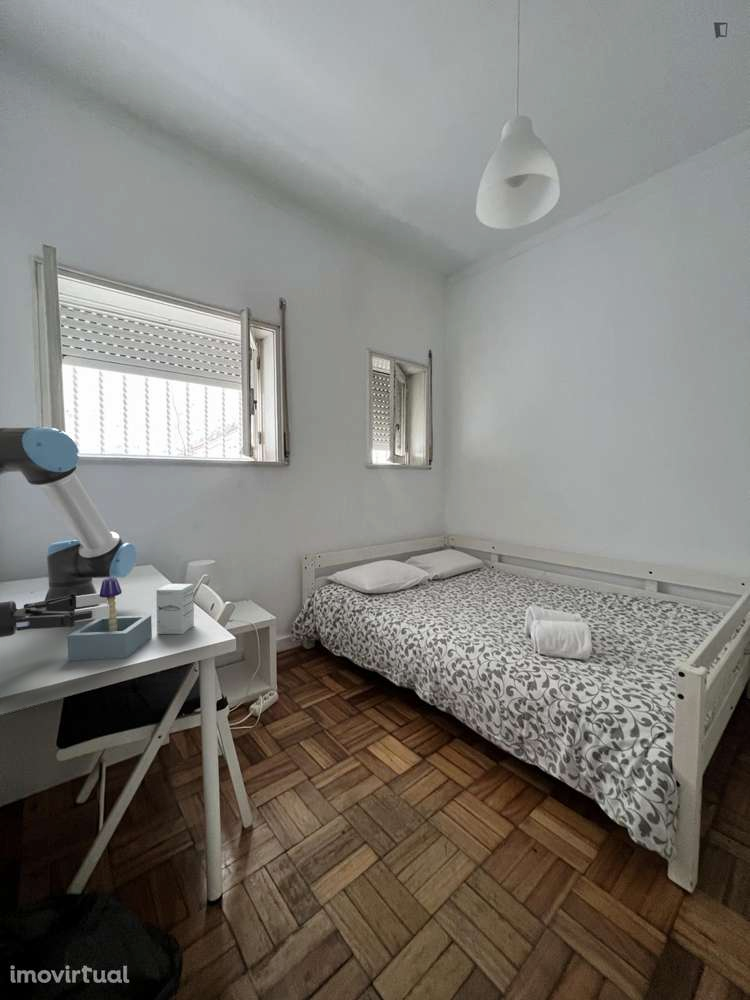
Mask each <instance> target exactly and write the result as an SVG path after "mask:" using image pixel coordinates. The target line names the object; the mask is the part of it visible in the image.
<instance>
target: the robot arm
mask: <svg viewBox="0 0 750 1000" xmlns="http://www.w3.org/2000/svg"><path fill="white" fill-rule="evenodd" d="M78 454H79V447H78V446H77V444H76V442H75V441H74V439H73V438H72V437H71V436H70V435H69V434H68V433H67V432H66V431H65V432H64V431H63V430H61V429H57V428H54V427H45V426H34V427H0V476H1V475H3V474H6V473H9V472H16V473H17V472H18V473H19V472H20V473H21V474H22V475H23V477H24V478H25V479H26V481H27V482H28V484H30V485H32V486H36V487H40V488H41V490H42V492H43V493H44V494H45V496H46V498H48V500H49V502H50V503H51V504H52V507H54V509H55V510H56V512H57V514H58V515H59V516H60V517H61V519H62V521H63V523H64V524H65V526H66V527H67V528H68V529H69V531H70V533H72V535H73V537H74V538H75V539H71V540H65V541H58V542H53V543H50V544H49V545H48V547H47V555H46V558H47V561H46V562H47V577H48V578H47V579H48V589H47V593H46V595H45V598H44V600H41V601H37V602H32V603H25V604H23V607H22V608H17V605H16V602H15V601H13V600H10V601H4V602H2V601H1V602H0V638H5V637H10V636H13V635H15V634H16V632H17V631H26V630H33V629H34V630H35V629H37V630H38V629H49V628H51V629H52V628H54V629H55V628H74V627H75V623H78V622H79V623H80V622H85V621H92V620H96V619H98V618H104V617H110V612H109V605H107V603H108V601H107V597H100V592H97V589H96V588H95V585H94V583H93V582H94V581H93V579H109V578H116V579H122V578H125V577H127V576H128V575H130V574H131V573H132V571H133V570H134V568H135V566H136V563H137V559H138V553H137V552H138V551H137V548H136V546H135V544H133V543H131V542H124V541H122V538H121V537H120V535H119V534H118V533H117V532H114V531H110V530H109V528H108V526H107V524H106V522H105V521H104V519H103V518H102V516H101V514H100V513H99V511H98V510H97V507H96V506H95V504H94V503H93V501H92V500H91V498H90V496H89V495H88V493H87V492H86V490H85V488H84V487H83V485H82V484H81V482H80V480H79V478H78V477H77V475H76V474H75V473H76V471H77V470H78V462H79V457H80V456H79V455H78ZM102 604H104V605H102Z"/></svg>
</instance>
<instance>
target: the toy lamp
mask: <svg viewBox="0 0 750 1000" xmlns="http://www.w3.org/2000/svg"><path fill="white" fill-rule="evenodd" d="M122 591H123V590H122V588H121V587H120V583H119V580H118V578H104V579H103V580H102V582H101V586H100V591H99V593H100V597H107V603H106V605H109V612H110V617H108V618H109V625H110V626H109V630H110V632H114V631H117V625H116V624H117V620H116V616H117V613H116V612H117V608H116V604H117V603H116V596H119V595H122Z"/></svg>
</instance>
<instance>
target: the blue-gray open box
mask: <svg viewBox="0 0 750 1000" xmlns="http://www.w3.org/2000/svg"><path fill="white" fill-rule="evenodd" d="M116 620H117V624H116V625H117V631H114V632H110V630H109V626H110V625H109V618H108V617H104V618H98V619H93V621H92V620H91V622H89V623H87V624H85V625H83V626H82V627H80V628H78V629H76V630H75V631H73V632H71V633H69V634H67V636H66V637H67V639H66V640H67V661H68V662H71V661H89V660H90V661H91V660H111V659H112V660H113V659H127V658H129V656H131V655H132V654H133V653H134V652H136V651H137V650H138V649H139V648H141V646H143V645H144V644H146V642H148V641H149V640H150V639H151V638H152V636H153V633H152V630H153V628H152V614H149V615H146V614H145V615H123V616H122V615H119V616H118V615H116Z"/></svg>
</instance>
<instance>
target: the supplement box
mask: <svg viewBox="0 0 750 1000" xmlns="http://www.w3.org/2000/svg"><path fill="white" fill-rule="evenodd" d="M194 589H195V587H194V583H168V584H165V585H163V586H161V587H159V588H157V589H156V635H163V634H164V635H167V634H168V635H169V634H170V635H171V634H172V635H183V634H185V633H186V632H187V631H189V630H188V629H189V628H190V629H191V628H192V627H193V625H195V611H194V610H195V607H194V605H195V604H194V603H195V602H194V601H195V599H194V598H195V596H194V595H195V594H194V593H195V591H194Z"/></svg>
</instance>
